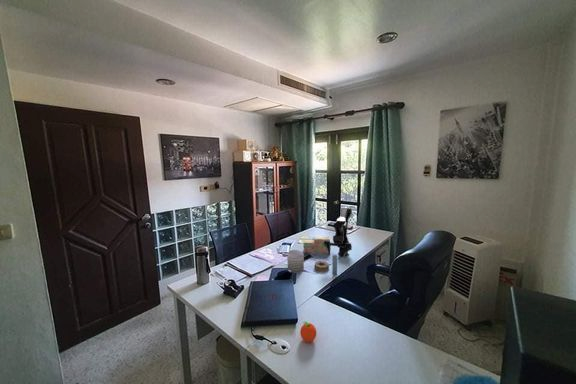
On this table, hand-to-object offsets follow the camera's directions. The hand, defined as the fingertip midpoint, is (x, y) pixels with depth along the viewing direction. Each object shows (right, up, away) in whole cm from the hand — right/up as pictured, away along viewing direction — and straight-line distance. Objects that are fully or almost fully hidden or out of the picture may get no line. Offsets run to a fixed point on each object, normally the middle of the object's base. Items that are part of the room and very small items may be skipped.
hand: (335, 256), depth 155 cm
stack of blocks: (-9, -6, +35) cm, 36 cm away
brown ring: (-9, -10, +6) cm, 15 cm away
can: (-27, -11, +6) cm, 30 cm away
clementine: (-24, -20, -56) cm, 64 cm away
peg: (-1, -11, -2) cm, 11 cm away
